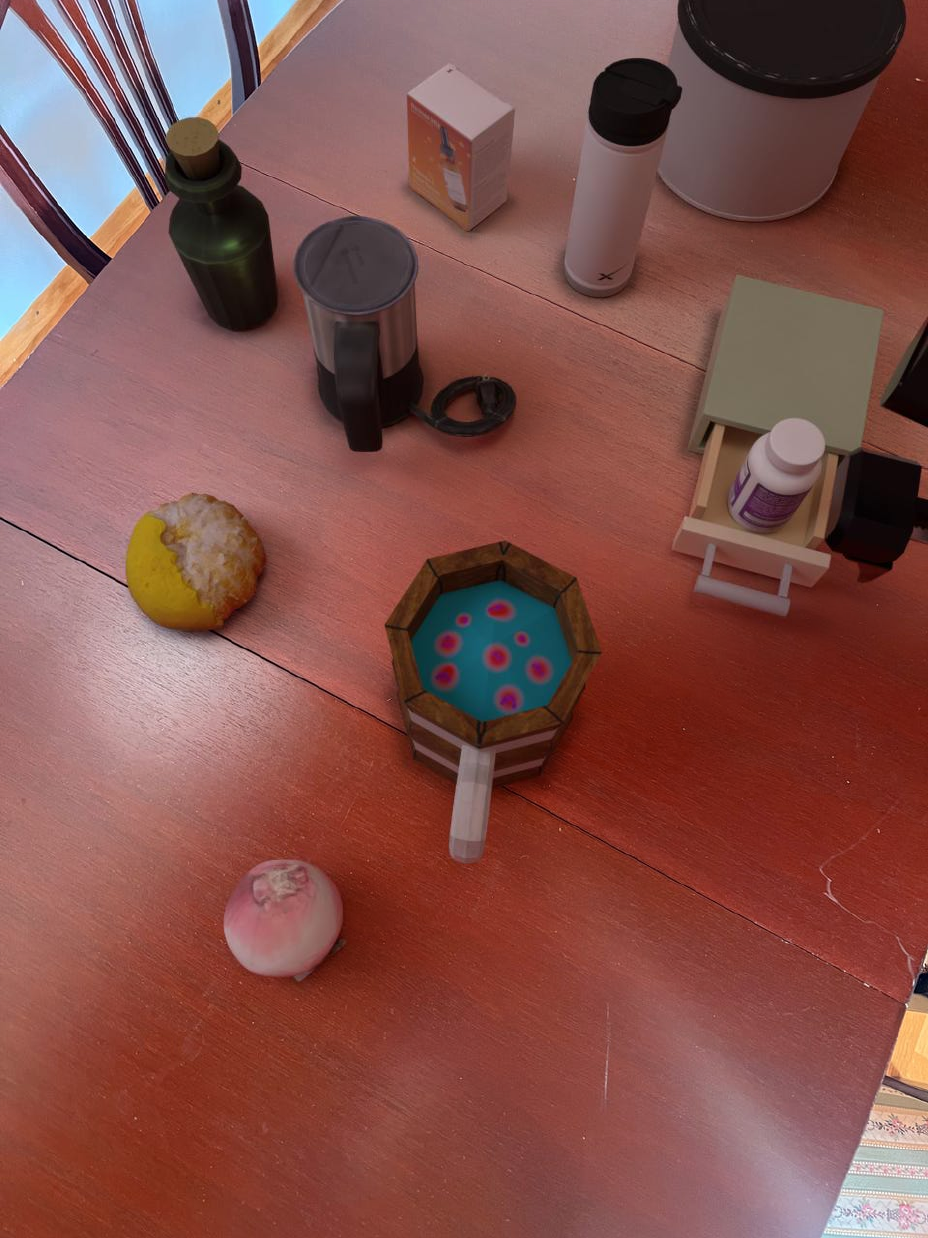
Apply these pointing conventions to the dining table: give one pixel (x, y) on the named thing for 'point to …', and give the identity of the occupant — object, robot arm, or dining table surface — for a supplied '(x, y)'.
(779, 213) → the container
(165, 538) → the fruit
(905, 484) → the robot arm
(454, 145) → the small box
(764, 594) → the drawer
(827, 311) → the cabinet
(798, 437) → the pill bottle
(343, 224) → the milk frother
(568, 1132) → the dining table surface
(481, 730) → the mug
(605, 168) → the travel mug
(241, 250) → the potion bottle
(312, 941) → the turnip
